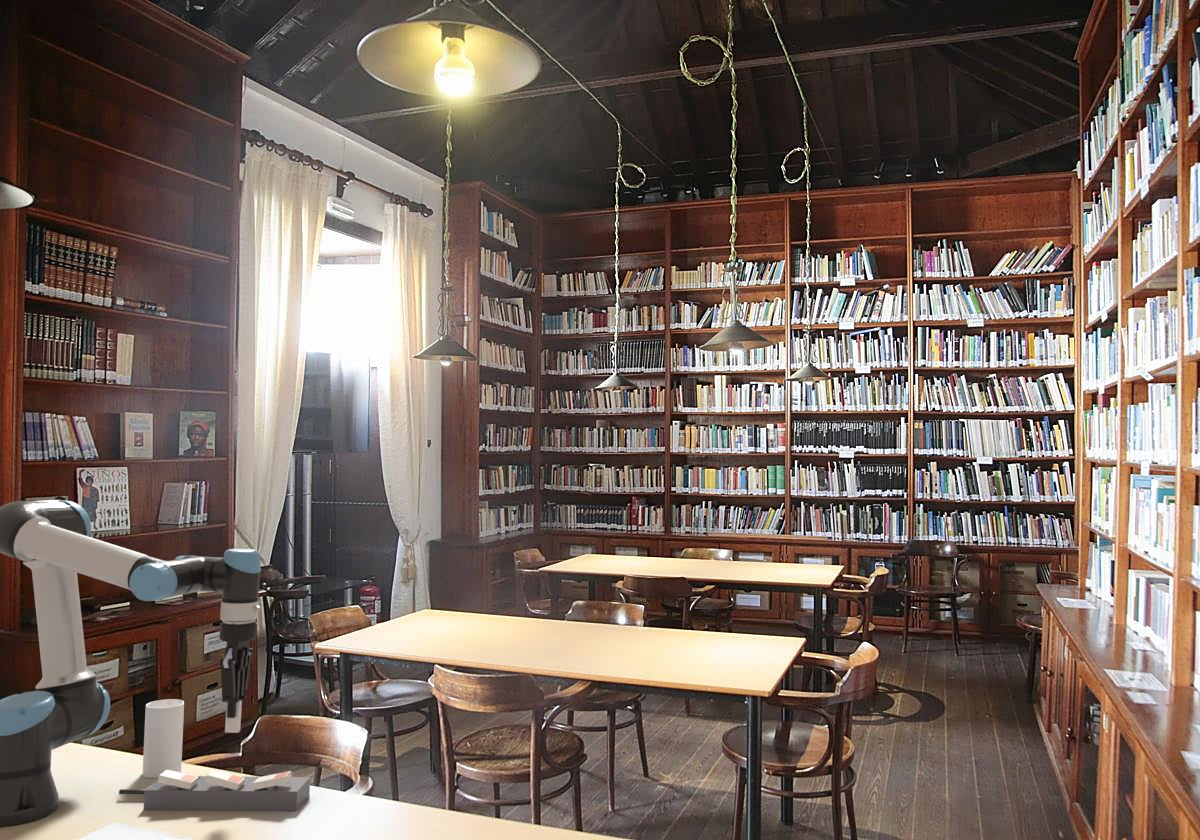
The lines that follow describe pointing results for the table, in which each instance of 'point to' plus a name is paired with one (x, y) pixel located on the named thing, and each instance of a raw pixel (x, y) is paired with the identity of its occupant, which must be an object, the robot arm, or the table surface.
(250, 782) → the strip
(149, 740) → the cup
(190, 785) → the block
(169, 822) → the table surface
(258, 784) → the block
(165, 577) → the robot arm
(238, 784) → the block
